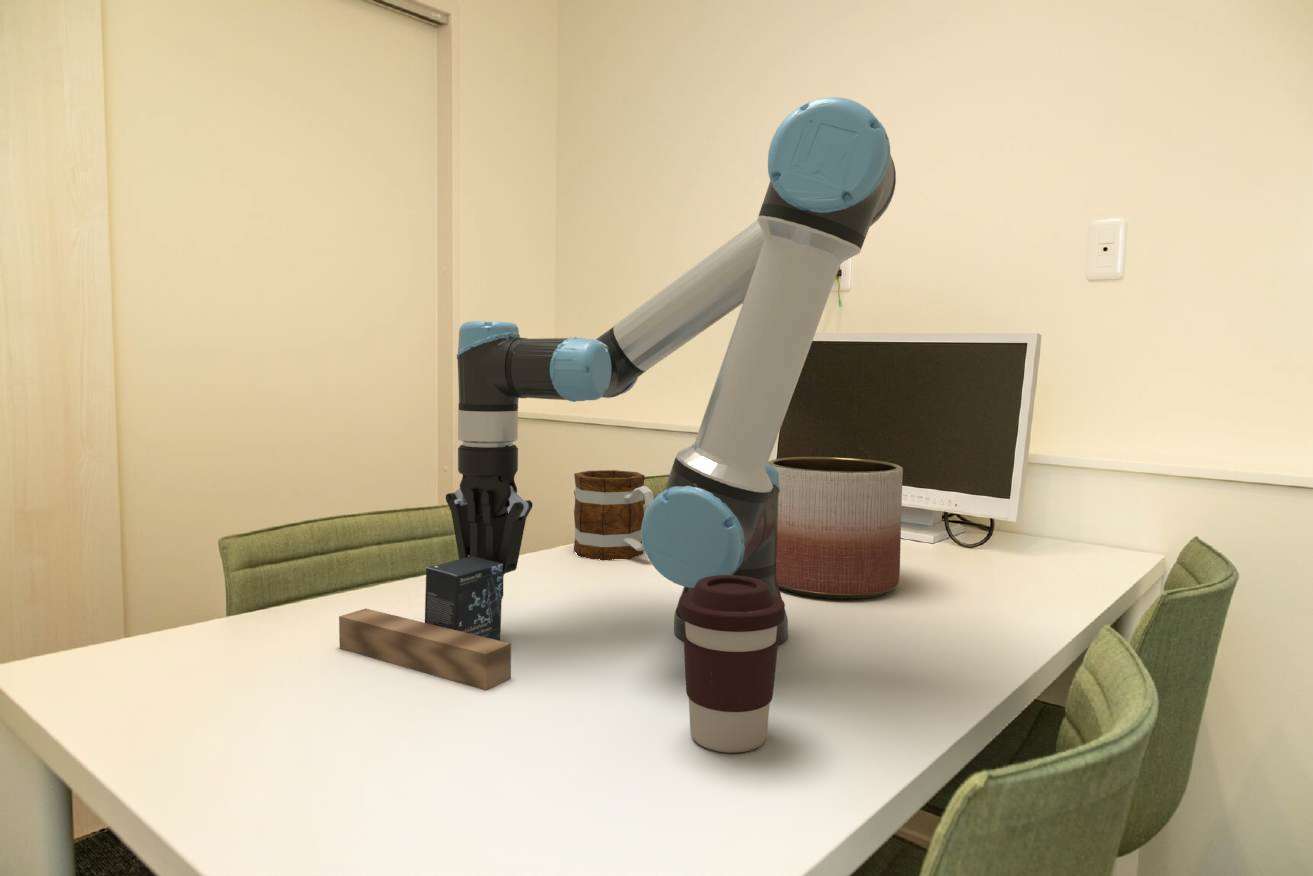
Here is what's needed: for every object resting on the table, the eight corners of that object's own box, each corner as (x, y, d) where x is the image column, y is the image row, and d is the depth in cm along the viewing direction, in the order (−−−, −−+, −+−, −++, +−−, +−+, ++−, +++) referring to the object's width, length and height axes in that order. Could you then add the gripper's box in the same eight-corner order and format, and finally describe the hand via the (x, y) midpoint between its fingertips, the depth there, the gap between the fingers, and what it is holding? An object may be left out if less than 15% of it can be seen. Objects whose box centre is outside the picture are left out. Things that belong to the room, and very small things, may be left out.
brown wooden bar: (510, 678, 91) (510, 643, 90) (486, 690, 87) (486, 654, 87) (366, 639, 103) (365, 608, 102) (339, 648, 99) (339, 616, 99)
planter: (747, 592, 127) (750, 466, 126) (779, 562, 148) (782, 454, 146) (891, 610, 119) (896, 476, 118) (904, 576, 140) (909, 461, 138)
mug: (558, 550, 154) (559, 473, 153) (615, 542, 163) (616, 468, 162) (620, 571, 139) (622, 485, 138) (679, 560, 148) (681, 479, 147)
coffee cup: (671, 716, 81) (674, 570, 80) (767, 714, 82) (771, 569, 81) (682, 763, 72) (686, 598, 70) (792, 760, 72) (797, 597, 71)
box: (455, 662, 95) (456, 575, 94) (422, 650, 98) (423, 566, 97) (502, 643, 102) (504, 562, 101) (470, 633, 105) (472, 554, 104)
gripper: (547, 444, 103) (545, 624, 105) (470, 438, 109) (470, 607, 112) (508, 449, 96) (507, 641, 98) (429, 442, 103) (429, 621, 105)
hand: (487, 623), depth 105 cm, fingers closed
